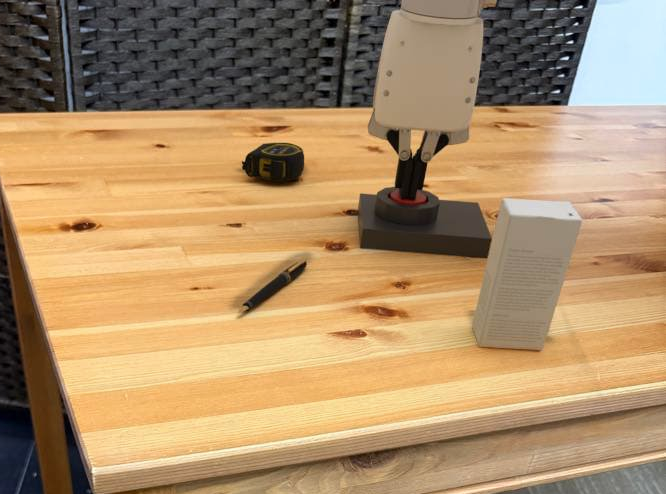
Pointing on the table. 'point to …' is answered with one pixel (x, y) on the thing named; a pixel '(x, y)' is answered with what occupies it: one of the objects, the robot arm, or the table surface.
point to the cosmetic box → (525, 272)
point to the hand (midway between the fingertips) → (407, 195)
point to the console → (422, 226)
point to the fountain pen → (275, 285)
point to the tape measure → (275, 162)
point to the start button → (418, 201)
